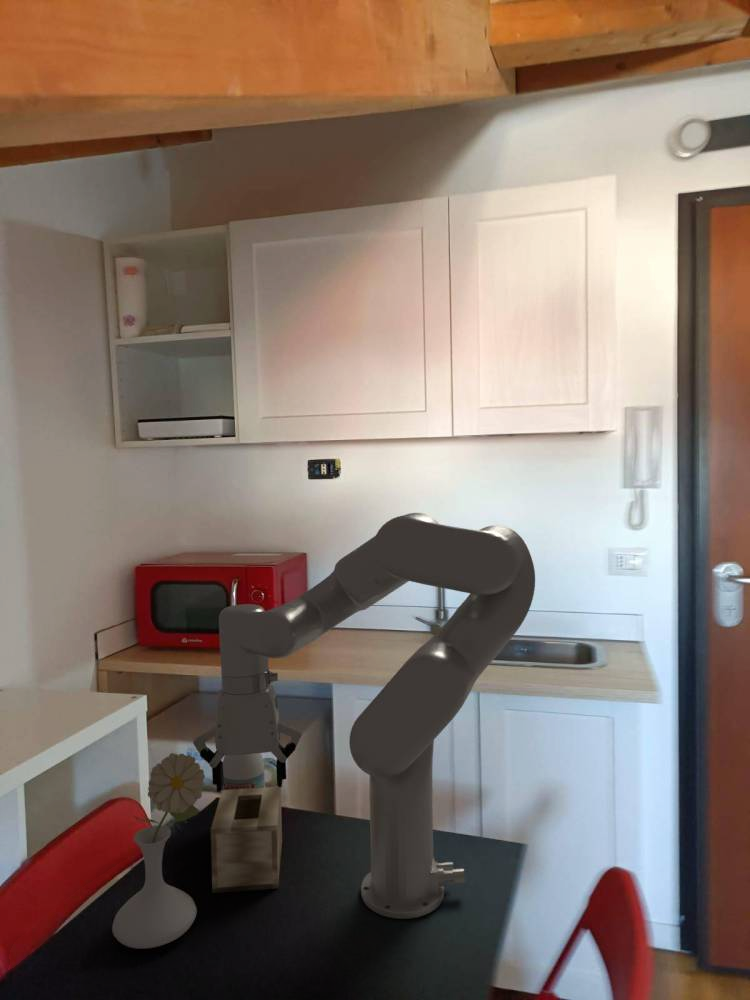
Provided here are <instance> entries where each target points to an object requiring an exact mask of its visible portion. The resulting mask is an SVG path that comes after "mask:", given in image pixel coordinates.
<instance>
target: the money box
mask: <svg viewBox="0 0 750 1000" xmlns="http://www.w3.org/2000/svg"><path fill="white" fill-rule="evenodd" d="M214 814H215V815H214V816H213V819H212V824H211V828H210V846H211V848H210V851H211V852H210V853H211V854H210V855H211V884H212V885H211V886H212V888H211V889H212V890H211V891H212V893H213V894H215V893H217V894H219V893H231V892H243V891H244V892H245V891H260V890H261V891H262V890H272V889H273V890H274V889H275V890H277V889H279V883H280V872H281V870H280V869H281V860H282V850H283V849H282V847H283V827H282V825H283V823H282V821H283V820H282V818H283V817H282V787H277V786H271V787H270V786H267V787H266V786H265V788H249V789H231V790H222V791H221V793H220V796H219V800H218V804H217V807H216V810H215V813H214Z"/></svg>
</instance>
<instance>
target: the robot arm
mask: <svg viewBox="0 0 750 1000" xmlns="http://www.w3.org/2000/svg"><path fill="white" fill-rule="evenodd" d="M533 561H534V560H533V559H532V554H531V552H530V550H529V548H528V546H527V543H525V541H524V539H523V538H522V537H521V535H520V534H518V533H517V532H516V531H515V530H513V529H512V528H511V527H507V526H505V525H499V524H497V525H488V526H485V527H482V528H480V529H473V528H471V529H470V528H467V527H466V528H464V527H459V526H458V527H457V526H451V525H447V524H446V525H445V524H440V523H439V521H437V520H436V518H435V519H434V518H433V517H432V516H430V515H428V514H426V513H422V512H411V513H407V514H403V515H400V516H399V515H398V516H396V517H393V518H391V519H390V520H388V521H386V522H385V523H384V524H383V525H382V526H381V527H380V528H379V529H378V531H377V532H376V535H374V536H372V537H371V538H370V539H368V540H367V541H365V542H364V543H363V544H361V545H360V546H359V547H357V548H355V549H353V550H352V551H351V552H349V553H348V554H346V555H344V556H343V557H342V558H340V559H339V560H338V561H337V562H336V563H335V565H334V567H333V568H334V569H333V571H332V572H331V573H330V574H328V576H327V577H325V578H324V579H323V580H321V581H320V582H319V583H317V584H316V585H314V586H313V587H312V588H310V589H308V590H307V591H305V592H304V593H302V594H301V595H299V596H298V597H296V598H295V599H293V600H290V601H288V602H285V603H283V604H281V605H279V606H277V607H274V608H271V609H268V610H265V608H264V607H262V606H261V605H258V604H252V603H244V604H243V603H242V604H235V605H230V606H227V607H225V608H223V609H222V610H221V611H220V613H219V616H218V631H219V653H220V654H219V655H220V671H221V673H220V675H221V677H220V678H221V689H219V690H218V692H217V700H216V707H215V724H214V726H213V727H211V728H209V729H207V730H205V731H204V732H202V733H200V734H199V735H197V736H195V737H194V740H193V741H192V743H193V745H194V747H195V748H196V750H197V752H198V753H199V757H201V758H202V759H203V760H204V761H205V762H206V763H207V764H208V765H209V767H210V768H211V775H212V777H211V778H212V785H213V786H215V785H216V792H217V793H220V792H222V788H223V784H224V777H223V760H222V759H224V756H225V755H242V754H255V753H261V754H263V753H264V754H265V753H271V754H272V755H273V756H274V757H275V758H276V764H275V766H276V767H275V768H276V769H275V770H276V787H281V788H282V787H283V781H284V780H287V759H288V758H289V757H290V756H291V755H292V754H293V753H294V752H295V751H296V749H297V746H298V744H299V742H300V740H301V738H302V730H301V729H298V728H297V727H295V726H292V725H289V724H288V723H285V722H283V721H280V716H279V715H280V714H279V705H278V699H277V694H276V689H275V686H274V685H272V683H274V682H278V679H279V677H278V675H279V673H278V672H273V671H272V672H271V670H270V669H269V668H270V667H269V658H272V659H282V658H284V659H285V658H286V657H289V656H291V655H293V654H294V653H296V652H298V651H299V650H301V649H302V648H305V646H307V645H308V644H311V643H312V642H313V641H316V639H318V638H320V637H321V636H323V635H324V634H325V633H327V632H328V631H330V630H332V629H333V628H334V627H337V626H338V625H339V624H341V623H342V622H344V621H346V620H347V619H349V618H350V617H352V616H354V614H356V613H358V612H361V611H365V610H367V609H368V608H369V609H370V607H372V606H373V605H375V604H376V603H378V602H380V601H381V600H383V599H384V598H386V597H387V596H389V595H390V594H391V593H393V592H395V591H396V590H398V589H400V588H401V587H402V586H404V585H406V584H407V583H409V582H412V583H416V584H421V585H426V586H430V587H436V588H441V589H445V590H451V591H456V592H461V593H467V594H469V595H468V596H467V597H466V598H465V600H464V601H463V602H462V603H461V604H460V605H459V607H457V609H455V611H454V613H453V614H452V616H451V617H450V618H448V620H447V621H446V622H445V623H444V625H443V626H441V628H440V629H439V630H438V631H437V632H436V633H435V634H434V635H433V636H432V637H431V638H430V640H428V641H426V642H425V643H424V644H422V646H420V647H419V648H418V649H417V650H416V651H414V653H413V654H412V655H411V656H410V657H409V658H408V659H407V660H406V661H405V663H403V665H402V666H401V667H400V668H399V669H398V670H397V672H396V673H395V674H394V675H393V676H392V677H391V679H390V680H389V681H388V682H387V683H386V684H385V685H384V686H383V688H382V689H381V691H379V693H377V695H376V696H375V697H374V698H373V699H372V701H371V702H370V703H369V704H368V705H367V706H366V707H365V709H364V710H363V711H362V712H361V713H360V714H359V715H358V717H357V718H356V719H355V721H353V725H352V727H351V729H350V732H349V739H348V741H349V750H350V751H349V752H350V754H351V757H352V759H353V761H354V763H355V764H356V766H357V767H358V769H360V770H361V771H362V772H363V773H365V774H367V775H369V826H370V827H369V831H370V833H369V834H370V835H369V836H370V837H369V838H370V842H369V843H370V872H369V873H367V874H366V875H365V876H364V877H363V880H362V882H361V887H360V893H361V898H362V901H363V902H364V904H365V906H367V907H368V908H369V909H370V910H371V911H372V912H374V913H376V914H377V915H381V916H383V917H386V918H391V919H397V920H407V919H415V918H420V917H423V916H425V915H428V914H430V913H432V912H433V911H435V910H436V909H437V908H438V907H439V906H440V905H441V904H442V902H443V900H444V896H445V885H446V884H462V883H463V884H464V883H465V882H466V874H465V869H464V868H463V867H462V868H454V862H453V861H444V862H438V861H437V860H435V857H434V829H433V827H434V823H433V822H434V821H433V820H434V819H433V817H434V815H433V792H434V791H433V790H434V789H433V762H434V761H433V760H434V745H435V739H436V738H437V737H438V736H439V735H440V734H441V732H442V731H444V729H446V727H447V726H448V725H449V724H450V723H451V722H452V720H454V718H455V717H456V716H457V714H458V713H459V712H460V710H461V709H462V707H463V706H464V705H465V702H466V700H467V699H468V697H469V695H470V693H471V692H472V689H473V687H474V685H475V683H476V682H477V680H478V679H479V677H480V676H481V675H482V673H483V672H484V671H485V670H486V669H487V668H488V666H489V665H490V664H491V663H492V662H493V661H494V660H495V659H496V657H497V656H498V655H499V653H500V652H502V650H503V649H504V648H505V647H506V646H507V644H508V643H509V642H510V641H511V639H512V638H513V636H514V635H516V633H517V632H518V630H519V628H520V627H521V626H522V624H523V623H524V621H525V620H526V617H527V616H528V613H529V612H530V611H529V610H530V609H531V606H532V602H533V600H534V595H535V589H536V571H535V565H534V562H533ZM281 734H283V735H286V736H288V737H290V741H288V742H287V744H286V745H285V746H284V745H283V744H282V743H280V742H279V741H280V739H281ZM213 738H215V740H214V741H215V749H216V750H215V751H214V752H213V750H212V749H210V748H209V747H208V746H207V744H206V743H207V742H208V741H210V740H211V739H213Z"/></svg>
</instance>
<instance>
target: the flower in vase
mask: <svg viewBox="0 0 750 1000" xmlns="http://www.w3.org/2000/svg"><path fill="white" fill-rule="evenodd" d="M204 773H205V771H204V769H202V768H201V766H200V763H198V762H196V758H195V756H192V755H190V754H187V755H185V754H184V753H180V754H178V753H173V752H171V753H170V754H169V755H168V756H166V757H164V758H163V759H162V760H161V763H156V765H155V766H153V767H152V769H151V771H150V779H149V781H148V787H147V788H148V789H147V790H148V792H147V796H148V798H151V802H152V804H154V805H156V809H157V811H162V812H163V813H164V815H163V817H162V818H161V820H160V822H158V821H156V820H154V819H150V818H141V817H137V816H136V815H133V817H134V819H136V820H138V821H142V822H143V821H144V822H148V823H154V824H155V823H156V824H158V825H152V826H147V827H144V828H143V829H141V830H139V831H137V832H136V833H135V835H134V836H133V841H134V843H135V844H136V845H137V846H138V847H139V849H140V850H141V853H142V856H143V861H144V868H145V869H144V872H145V876H144V878H145V881H144V884H143V887H142V888H141V889H140V890H139V891H138V892H136V894H134V895H133V896H131V897H130V898H129V899H128V900H127V901H126V902H125V903H124V904H122V905H123V906H121V907H120V908H119V910H118V911H117V913H116V914H115V917H114V920H113V923H112V926H111V930H112V931H111V932H112V935H113V937H114V938H115V939H116V940H117V941H118V942H119V943H121V944H122V945H123V946H126V947H127V948H132V949H137V950H139V949H141V950H142V949H143V950H144V949H145V950H146V949H152V948H157V947H161V946H165V945H167V944H170V943H171V942H174V941H175V940H177V939H178V938H180V937H182V936H183V935H184V934H185V933H187V931H188V930H190V927H191V926H192V925H193V923H194V921H195V919H196V918H197V917H196V916H197V912H198V909H197V906H196V904H195V901H194V899H193V898H192V896H190V895H189V894H188V893H187V892H185V891H183V890H182V889H179V888H177V887H175V886H172V885H169V884H168V883H166V882H165V881H164V877H163V864H162V863H163V855H164V849H165V845H166V842H167V841H168V839H169V838H170V836H171V834H172V830H171V828H169V827H168V826H165V825H162V824H163V823H164V822H165V820H166V817H167V815H168V814H170V816H171V817H173V818H174V819H175V820H176V821H178V822H184V821H186V820H188V819H190V818H192V817H194V816H195V815H197V814H198V813H199V812H200V810H199V809H198V808H197V807H196V806H195V804H196V802H197V801H198V800H199V799H201V798H202V795H203V789H204V788H205V782H204V780H205V777H206V776H205V774H204Z"/></svg>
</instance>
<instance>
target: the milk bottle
mask: <svg viewBox="0 0 750 1000" xmlns="http://www.w3.org/2000/svg"><path fill="white" fill-rule="evenodd" d="M222 759H223V760H222V761H223V777H224V784H223V788H222V790H231V789H249V788H266V775H265V774H266V773H265V762H264V758H263V753H255V754H242V755H225V756H224V757H223V758H222Z"/></svg>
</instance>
